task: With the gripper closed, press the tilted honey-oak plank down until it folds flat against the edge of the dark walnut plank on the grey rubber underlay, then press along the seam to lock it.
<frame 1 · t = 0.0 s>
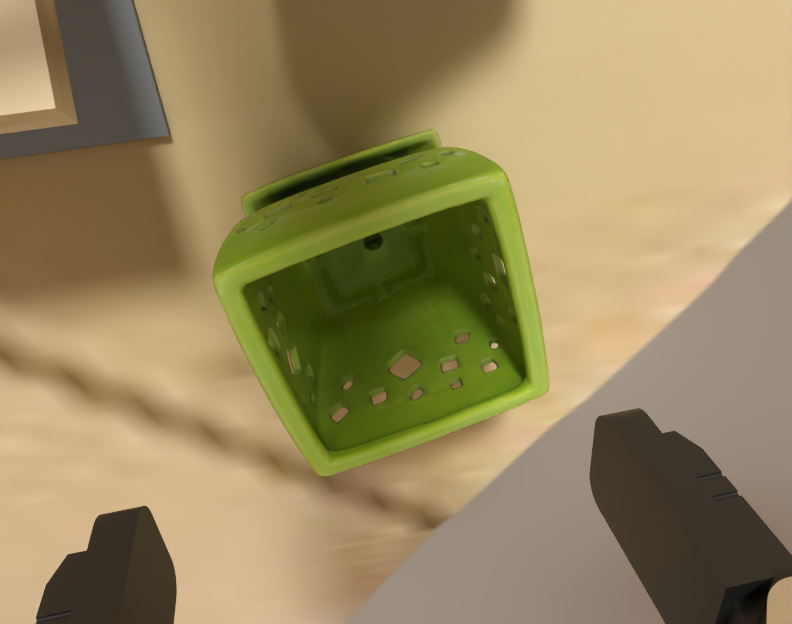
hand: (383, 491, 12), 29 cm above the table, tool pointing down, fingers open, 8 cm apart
flower pot: (363, 232, 41), on the table
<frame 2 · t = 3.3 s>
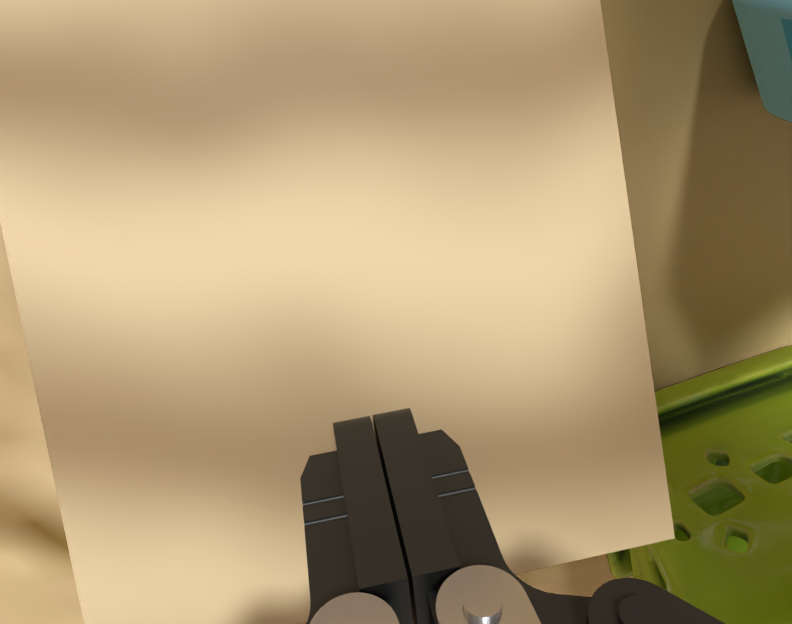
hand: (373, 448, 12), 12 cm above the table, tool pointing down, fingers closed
oak plank: (305, 67, 13), point 7 cm above the table, hinge at 29.2°, touching gripper
flower pot: (691, 436, 33), on the table
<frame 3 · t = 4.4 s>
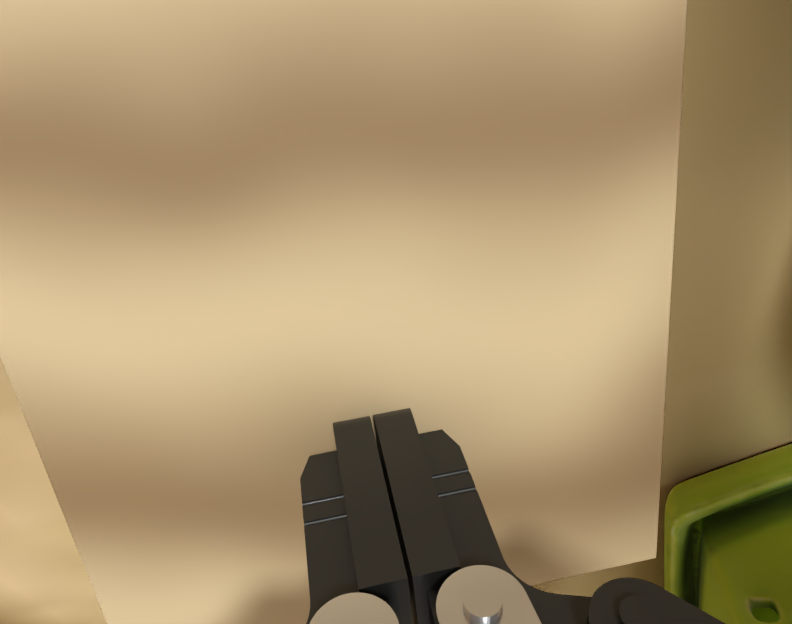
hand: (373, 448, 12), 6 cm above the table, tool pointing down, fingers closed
oak plank: (322, 95, 11), point 4 cm above the table, hinge at 11.6°, touching gripper
flower pot: (771, 506, 28), on the table
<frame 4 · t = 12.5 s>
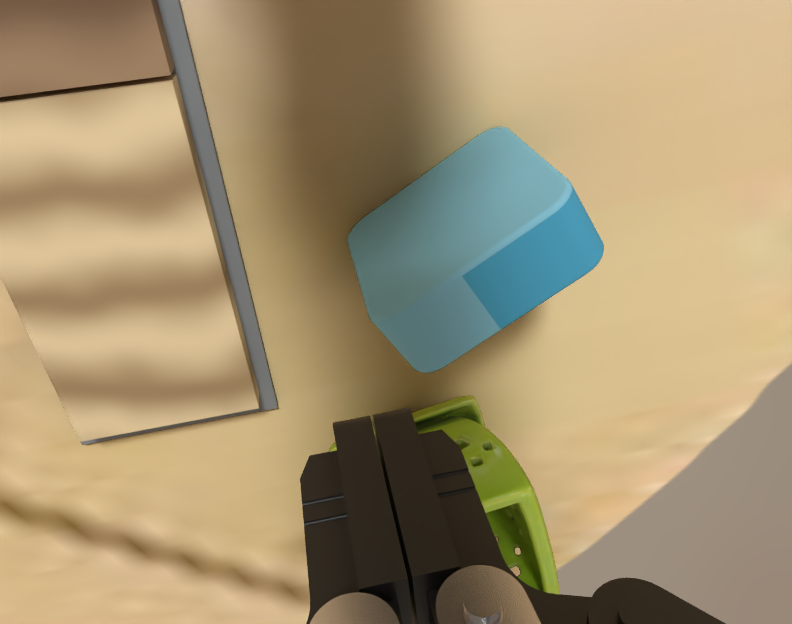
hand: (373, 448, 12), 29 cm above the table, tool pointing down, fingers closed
underlay: (103, 199, 38), on the table
oak plank: (122, 278, 39), point 2 cm above the table, hinge at -0.1°
flower pot: (415, 452, 54), on the table
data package: (436, 201, 42), on the table
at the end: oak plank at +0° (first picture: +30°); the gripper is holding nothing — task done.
